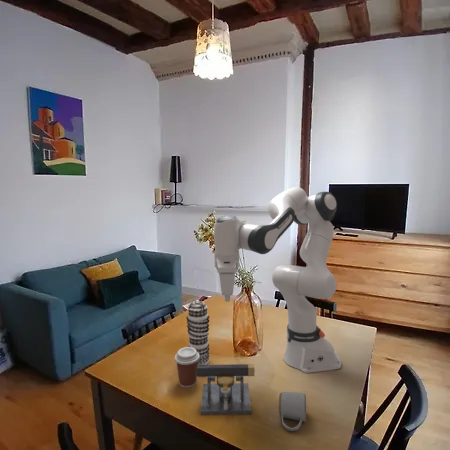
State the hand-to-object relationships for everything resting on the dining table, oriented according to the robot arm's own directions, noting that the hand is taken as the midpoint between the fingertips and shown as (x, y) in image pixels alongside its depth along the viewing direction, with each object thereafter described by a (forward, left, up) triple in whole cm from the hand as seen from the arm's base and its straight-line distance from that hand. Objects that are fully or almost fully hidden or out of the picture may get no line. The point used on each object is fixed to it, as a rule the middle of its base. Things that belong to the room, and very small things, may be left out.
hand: (227, 298), depth 119 cm
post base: (+1, +12, -31) cm, 33 cm away
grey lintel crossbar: (+1, +12, -25) cm, 27 cm away
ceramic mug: (-20, +21, -31) cm, 43 cm away
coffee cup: (+15, +2, -31) cm, 35 cm away
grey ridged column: (+12, -12, -31) cm, 36 cm away
